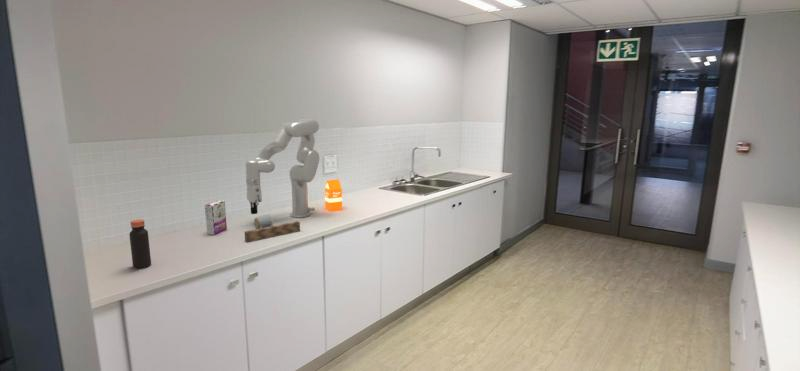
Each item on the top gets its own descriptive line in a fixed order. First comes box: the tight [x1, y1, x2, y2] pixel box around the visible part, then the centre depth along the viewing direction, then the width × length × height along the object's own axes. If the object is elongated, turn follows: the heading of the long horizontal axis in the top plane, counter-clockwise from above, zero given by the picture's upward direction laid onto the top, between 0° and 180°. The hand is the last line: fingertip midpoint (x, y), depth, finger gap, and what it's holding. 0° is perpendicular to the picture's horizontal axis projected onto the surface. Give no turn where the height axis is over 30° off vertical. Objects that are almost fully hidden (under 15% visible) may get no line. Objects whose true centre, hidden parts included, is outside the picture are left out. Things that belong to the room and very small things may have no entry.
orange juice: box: [324, 178, 343, 212], centre depth 283 cm, size 8×9×20 cm
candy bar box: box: [204, 200, 228, 236], centre depth 233 cm, size 11×5×16 cm, turn 168°
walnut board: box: [243, 220, 301, 243], centre depth 228 cm, size 30×2×5 cm, turn 132°
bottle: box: [129, 219, 152, 270], centre depth 183 cm, size 7×7×20 cm
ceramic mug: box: [253, 213, 273, 229], centre depth 239 cm, size 11×8×8 cm
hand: (254, 213), depth 247 cm, fingers closed
